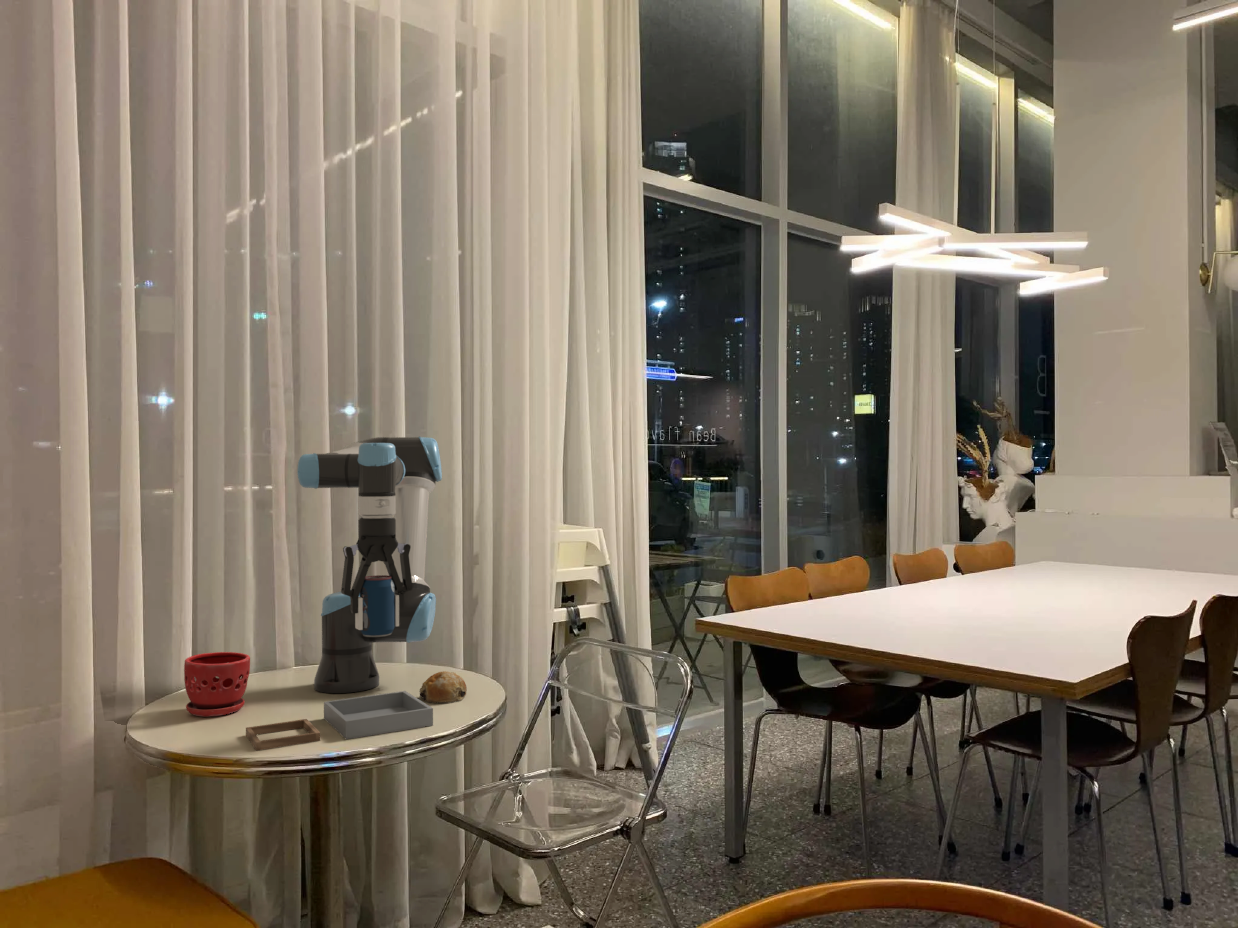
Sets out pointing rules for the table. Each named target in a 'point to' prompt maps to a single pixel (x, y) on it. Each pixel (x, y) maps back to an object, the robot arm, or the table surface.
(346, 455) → the robot arm
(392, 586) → the soda can
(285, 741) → the walnut frame
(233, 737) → the table surface
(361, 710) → the grey bin
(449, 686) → the bread roll
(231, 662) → the plant pot
